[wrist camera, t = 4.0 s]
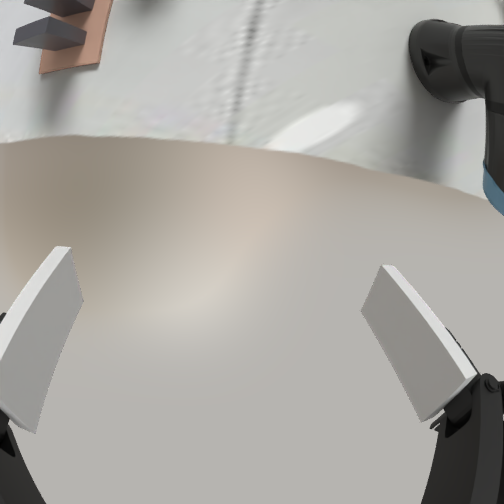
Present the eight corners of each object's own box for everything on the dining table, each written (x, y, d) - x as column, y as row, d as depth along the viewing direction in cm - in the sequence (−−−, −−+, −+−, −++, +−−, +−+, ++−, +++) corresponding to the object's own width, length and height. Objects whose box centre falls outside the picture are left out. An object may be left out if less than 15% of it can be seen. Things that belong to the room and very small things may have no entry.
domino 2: (57, 38, 20) (16, 29, 11) (87, 31, 21) (49, 16, 12) (54, 51, 21) (12, 44, 12) (84, 44, 22) (45, 32, 13)
